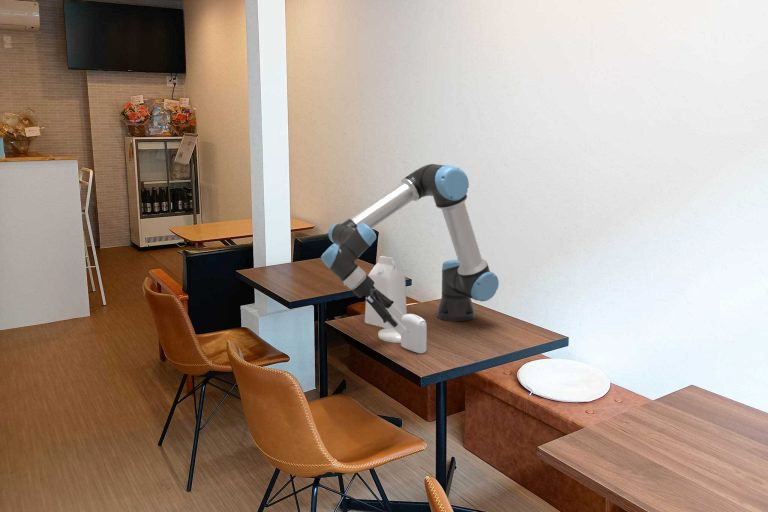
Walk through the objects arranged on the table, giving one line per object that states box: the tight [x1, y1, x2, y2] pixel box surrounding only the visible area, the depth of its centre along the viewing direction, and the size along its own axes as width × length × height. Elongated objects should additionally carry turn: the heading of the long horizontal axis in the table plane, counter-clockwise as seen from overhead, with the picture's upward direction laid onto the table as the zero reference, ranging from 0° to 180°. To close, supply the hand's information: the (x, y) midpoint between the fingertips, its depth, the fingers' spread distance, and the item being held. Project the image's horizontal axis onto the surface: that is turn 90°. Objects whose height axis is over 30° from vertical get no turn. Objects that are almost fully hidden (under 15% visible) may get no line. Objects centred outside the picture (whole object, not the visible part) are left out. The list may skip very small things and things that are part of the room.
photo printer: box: [400, 313, 428, 354], centre depth 224 cm, size 10×4×12 cm, turn 39°
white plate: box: [377, 327, 401, 344], centre depth 239 cm, size 15×15×1 cm
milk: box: [364, 255, 408, 329], centre depth 254 cm, size 12×12×26 cm
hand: (403, 325), depth 224 cm, fingers open, 13 cm apart
